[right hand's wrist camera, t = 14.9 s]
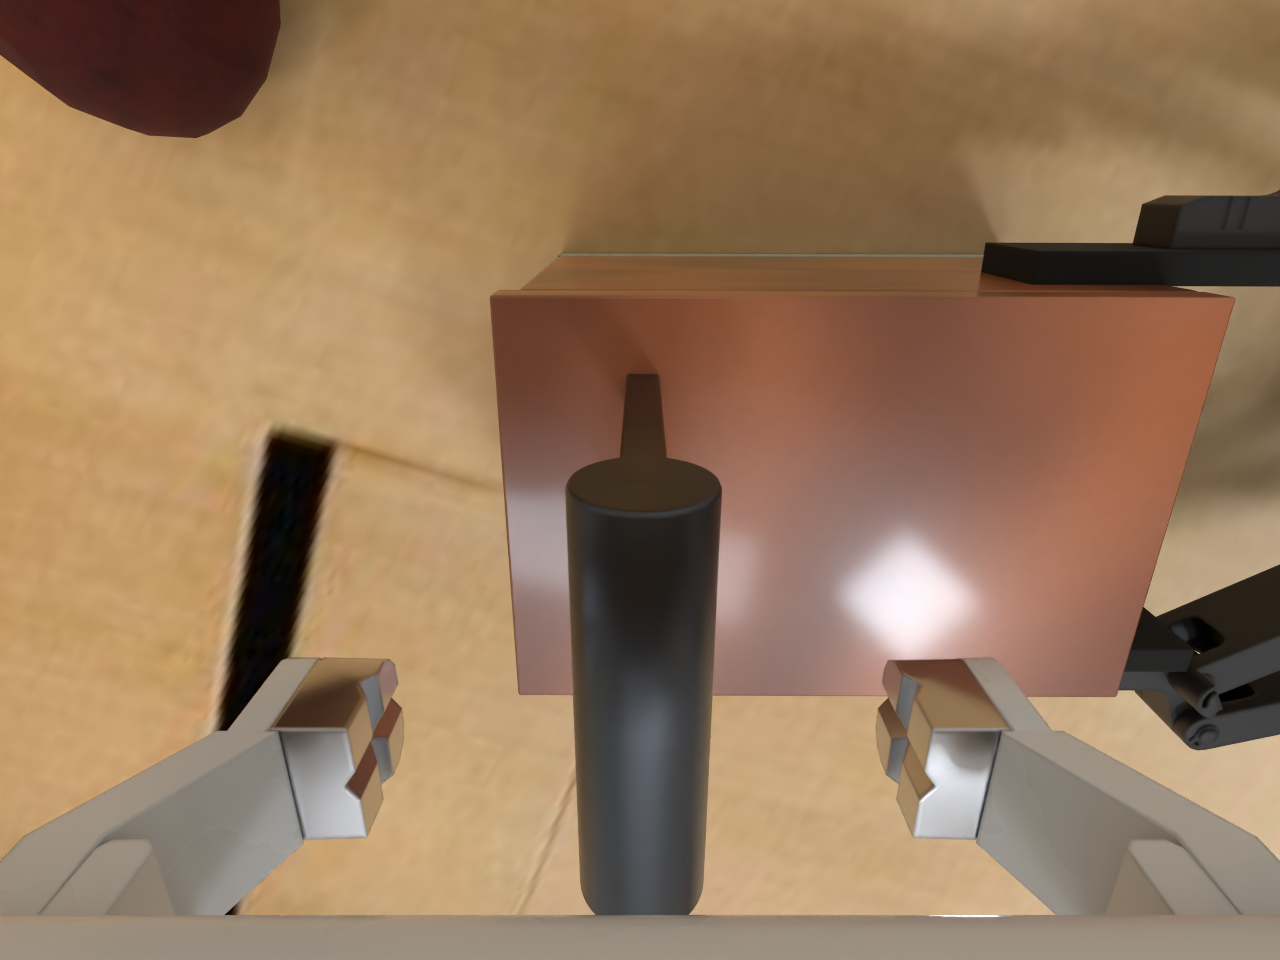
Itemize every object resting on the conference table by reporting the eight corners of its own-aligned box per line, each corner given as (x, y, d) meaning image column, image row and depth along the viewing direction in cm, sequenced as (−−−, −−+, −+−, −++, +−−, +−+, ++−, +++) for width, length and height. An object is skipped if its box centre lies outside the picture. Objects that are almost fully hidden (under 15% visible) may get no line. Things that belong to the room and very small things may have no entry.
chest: (570, 523, 28) (539, 673, 19) (560, 252, 24) (516, 288, 16) (956, 525, 28) (1095, 675, 19) (1005, 254, 24) (1204, 291, 16)
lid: (523, 673, 19) (443, 999, 12) (497, 289, 16) (354, 389, 8) (1096, 675, 19) (1401, 1004, 12) (1205, 291, 16) (1761, 394, 8)
